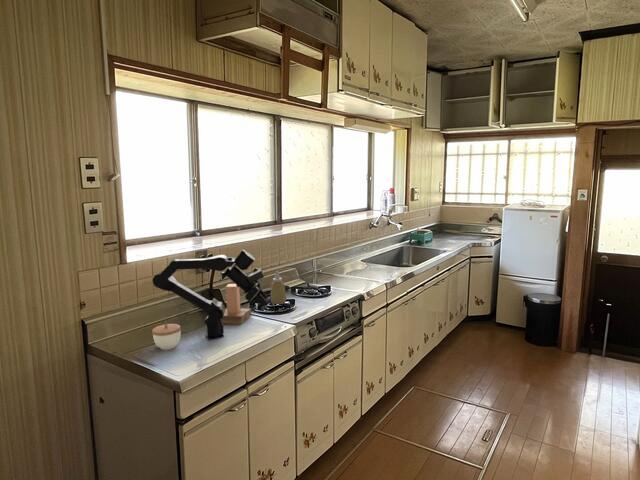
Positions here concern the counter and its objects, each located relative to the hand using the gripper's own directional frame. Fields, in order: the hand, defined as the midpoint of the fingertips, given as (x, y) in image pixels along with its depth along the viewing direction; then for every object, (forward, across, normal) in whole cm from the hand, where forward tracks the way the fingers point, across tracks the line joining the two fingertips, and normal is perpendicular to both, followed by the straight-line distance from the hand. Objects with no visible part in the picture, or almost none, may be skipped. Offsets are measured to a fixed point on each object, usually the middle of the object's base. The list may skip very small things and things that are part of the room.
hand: (267, 301), depth 185 cm
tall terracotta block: (-4, +21, +18) cm, 28 cm away
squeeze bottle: (+14, +38, +5) cm, 41 cm away
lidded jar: (-19, -7, +38) cm, 43 cm away
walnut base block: (-1, +21, +21) cm, 30 cm away
